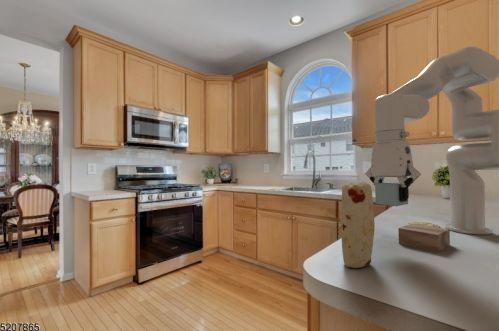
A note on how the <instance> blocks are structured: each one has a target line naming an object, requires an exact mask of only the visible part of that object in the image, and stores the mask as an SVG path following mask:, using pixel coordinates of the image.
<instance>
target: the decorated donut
mask: <svg viewBox="0 0 499 331" xmlns="http://www.w3.org/2000/svg"><path fill="white" fill-rule="evenodd" d="M409 224H418V225H425V226H431V227H437V228H442V227H441V226H440V225H438V224H435V223H432V222H419V221H411V222H407V223H405V226H406V225H409Z"/></svg>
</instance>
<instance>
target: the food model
mask: <svg viewBox="0 0 499 331" xmlns="http://www.w3.org/2000/svg"><path fill="white" fill-rule="evenodd" d="M373 200H374V199H373V189H372V185H371V184H370V183H368V182H366V181H360V182H357V183H356V182H354V183H353V182H349V183H347V184H343V185H342V187H341V205H340V206H341V208H340V209H341V210H340V235H341V248H342V251H341V252H342V259H343V264H344V265H345V267H347V268H352V269H357V268H358V269H359V268H364V267H367V266H369V265H370V264H372V263H371V262H372V254H373V246H374V239H375V238H374V236H375V228H376V227H375V226H376V225H375V212H374V210H375V209H374V201H373Z"/></svg>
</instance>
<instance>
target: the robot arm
mask: <svg viewBox="0 0 499 331" xmlns="http://www.w3.org/2000/svg"><path fill="white" fill-rule="evenodd" d="M498 78H499V59H498V58H497V57H496V56H495V55H493V54H492V53H490V52H488V51H486V50H484V49H482V48H479V47H476V46H466V47H463V48H461V49H457V50H455V51H452V52H449V53H446V54H443V55H441V56H439V57H436V58H434V59H433V60H431V62H429V64H428V65H427V66H426V67H425V68H424V69H423V70H422V71H421V72H420V73H419V74H418V75H417V76H416V77H415V78H413V79H411V80H409V81H408V82H407V83H405V84H403V85H402V86H400V87H398V88H397V89H395V90H393V91H391V93H388V94H387V93H386V94H383V95H380V96H378V97H376V98H375V100H374V103H373V106H374V107H373V108H374V111H373V112H374V142H375V143H374V144H373V145H372V150H371V158H370V160H371V162H370V163H371V164H370V166H369V168H368V170H367V171H366V172H365V176H367V178H368V179H369V180H370V181H371V182H372V184H373V186H374V187H375V183H384V180H385V178H397V181H398V183H400V185H401V187H399V201H400V202H404V201H408V202H409V197H410V196H409V195H410V194H409V187H411V185H413V183H415V181H416V180H418V178H419V177H420V176H421V175H422V174H421V172H420V171H419V170H417V168H416V167H414V162H413V161H414V160H413V155H412V154H413V153H412V149H411V146H410V142H409V141H406V138H407V137H408V138H409V137H410V131H406V130H405V123H408V122H414V121H415V122H416V121H419V120H421V119H423V118H425V117H426V116H427V115H428V113H429V111H430V103H429V100H430V99H432V98H434V97H435V96H437V95H439V93H441V91H442V92H443V94H444V95H445V96H446V97H447V99H448V100H449V103H450V106H451V135H452V138H454V139H455V140H457V141H475V140H477V141H478V140H486V139H489V140H490V141H488V142H475V143H464V144H463V143H461V144H456V145H453V146H451V147H449V149H448V150H447V151H446V153H445V160H446V164H447V167H448V173H449V174H448V175H449V202H450V204H449V205H450V223H447V224H445V225H444V226H445V229H450V231H451V232H455V233H461V234H467V235H477V236H478V235H483V236H485V235H491V234H492V233H493V232H492V229H491V228H489V227H486V201H485V200H486V195H485V194H486V192H485V186H486V185H485V182H484V179H483V178H482V177H481V175H480V174H478V172H477V171H499V109H493V110H487V111H486V110H485V111H483V98H482V97H481V95H479V94H478V93H477V92H476V91H474V90H472V89H471V87H476V86H479V85H484V84H488V83H491V82H493V81H495V80H496V79H498Z"/></svg>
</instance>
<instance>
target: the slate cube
mask: <svg viewBox="0 0 499 331" xmlns="http://www.w3.org/2000/svg"><path fill="white" fill-rule="evenodd" d="M399 187H401V185H400V183H399V182H392V181H387V182H384V181H383V183H375V186H374V189H375V190H374V192H375V193H374V194H375V195H374V196H375V197H374V198H375V205H381V206H382V205H383V206H391V207H400V206H404V205H405V206H406V205H409V200H408V201H404V202H400V201H399Z"/></svg>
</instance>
